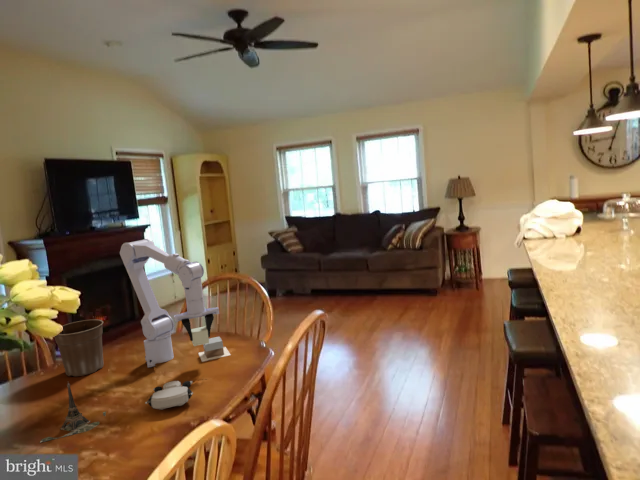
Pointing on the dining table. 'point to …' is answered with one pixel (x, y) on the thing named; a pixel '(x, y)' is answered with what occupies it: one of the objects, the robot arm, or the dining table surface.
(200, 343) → the sage block
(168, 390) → the robot toy
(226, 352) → the cream board
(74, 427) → the eiffel tower figurine
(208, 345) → the light grey flat block
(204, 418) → the dining table surface
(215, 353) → the walnut slab
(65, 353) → the plant pot
